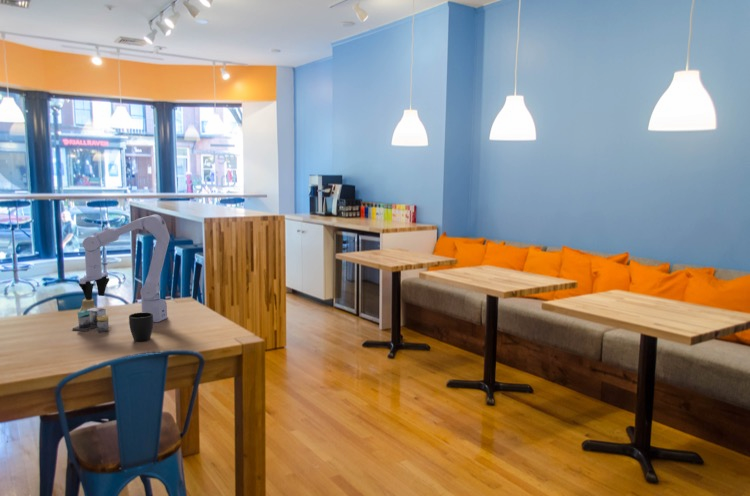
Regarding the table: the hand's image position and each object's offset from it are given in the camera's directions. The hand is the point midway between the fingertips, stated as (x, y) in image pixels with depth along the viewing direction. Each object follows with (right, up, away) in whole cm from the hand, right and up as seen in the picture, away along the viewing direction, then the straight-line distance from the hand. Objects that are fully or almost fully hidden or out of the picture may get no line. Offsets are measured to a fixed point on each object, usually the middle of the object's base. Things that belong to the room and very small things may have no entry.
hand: (95, 297), depth 228 cm
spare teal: (+1, -11, -10) cm, 14 cm away
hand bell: (-11, -8, +15) cm, 20 cm away
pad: (+1, -11, -10) cm, 15 cm away
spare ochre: (+9, -12, -12) cm, 20 cm away
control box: (+2, -11, -4) cm, 11 cm away
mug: (+28, -14, -20) cm, 37 cm away
